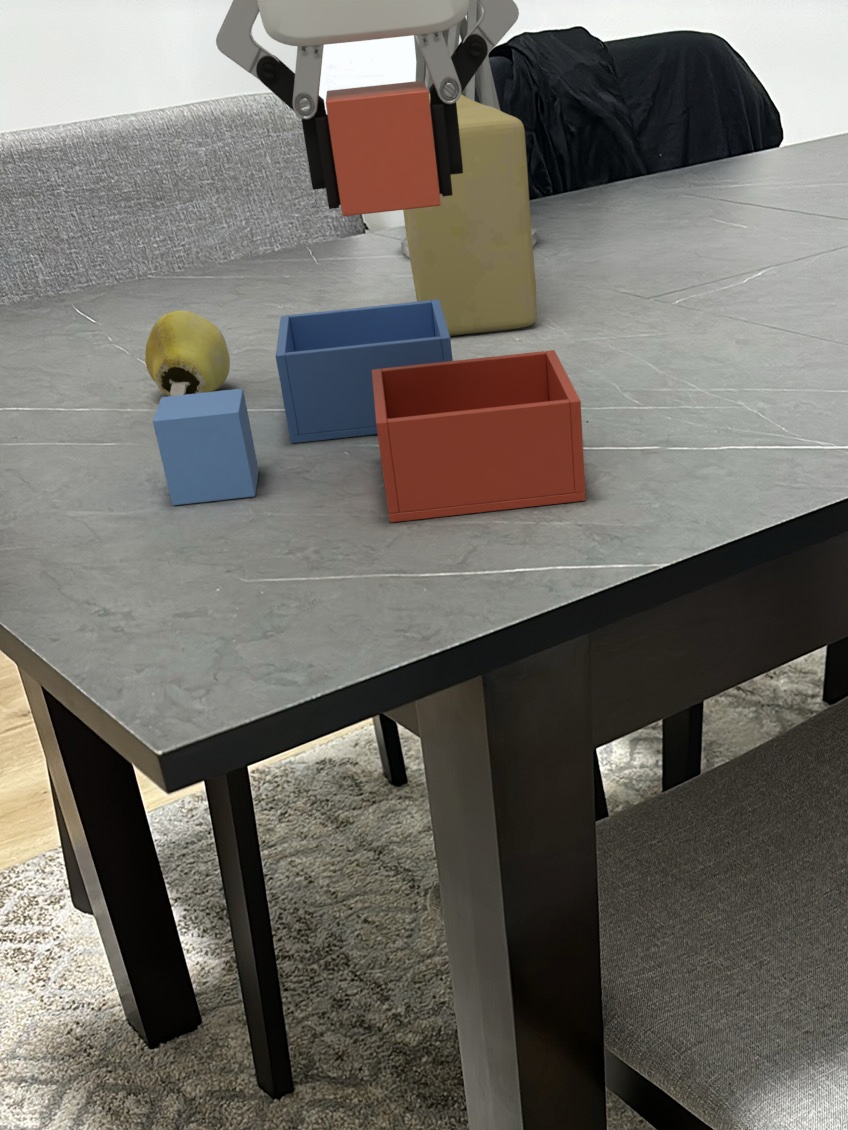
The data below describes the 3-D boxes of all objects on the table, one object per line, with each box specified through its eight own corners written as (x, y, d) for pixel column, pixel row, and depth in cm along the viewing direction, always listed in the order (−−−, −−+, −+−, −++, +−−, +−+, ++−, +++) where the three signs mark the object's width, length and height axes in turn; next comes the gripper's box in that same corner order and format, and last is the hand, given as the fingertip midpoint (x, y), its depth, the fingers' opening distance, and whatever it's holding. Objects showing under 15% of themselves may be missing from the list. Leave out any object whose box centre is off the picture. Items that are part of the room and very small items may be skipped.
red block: (342, 216, 70) (325, 100, 67) (342, 200, 74) (326, 90, 71) (441, 205, 70) (428, 90, 67) (435, 190, 74) (423, 80, 71)
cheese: (408, 283, 128) (385, 93, 119) (512, 272, 129) (497, 82, 120) (419, 341, 111) (393, 124, 102) (539, 328, 111) (524, 111, 102)
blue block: (172, 506, 83) (152, 420, 80) (179, 479, 87) (160, 396, 84) (255, 496, 84) (238, 411, 80) (259, 470, 87) (243, 388, 84)
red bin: (389, 522, 78) (376, 423, 75) (384, 461, 87) (371, 369, 84) (586, 500, 79) (580, 400, 76) (560, 441, 88) (554, 349, 84)
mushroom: (138, 423, 98) (146, 366, 105) (225, 438, 100) (227, 381, 106) (142, 341, 94) (150, 287, 101) (232, 358, 96) (234, 304, 103)
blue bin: (290, 443, 91) (275, 355, 88) (294, 397, 100) (280, 315, 97) (459, 425, 92) (450, 337, 89) (448, 380, 101) (439, 299, 98)
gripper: (514, -277, 64) (544, 170, 75) (145, -242, 63) (230, 204, 74) (531, -297, 58) (561, 192, 69) (124, -258, 57) (220, 229, 69)
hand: (389, 194), depth 72 cm, fingers closed on red block, 5 cm apart
